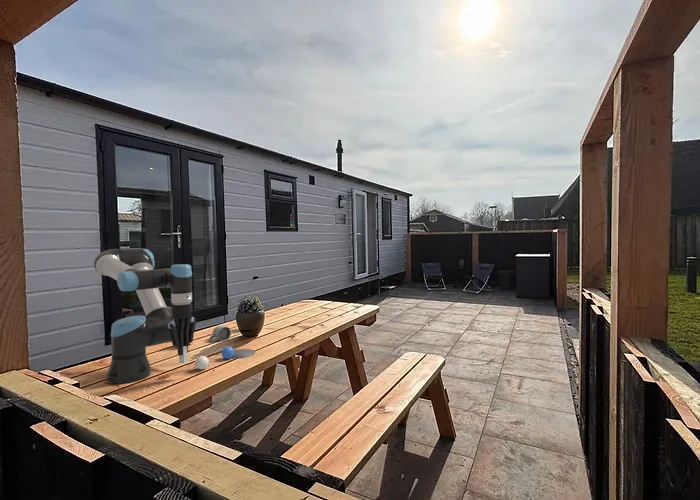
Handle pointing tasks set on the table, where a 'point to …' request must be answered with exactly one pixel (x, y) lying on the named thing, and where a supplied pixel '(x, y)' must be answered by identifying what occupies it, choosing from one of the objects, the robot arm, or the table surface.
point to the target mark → (243, 353)
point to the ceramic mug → (220, 333)
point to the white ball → (201, 362)
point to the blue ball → (227, 352)
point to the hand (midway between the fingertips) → (183, 362)
